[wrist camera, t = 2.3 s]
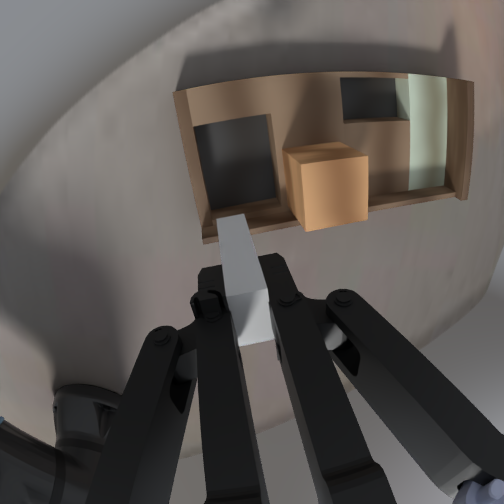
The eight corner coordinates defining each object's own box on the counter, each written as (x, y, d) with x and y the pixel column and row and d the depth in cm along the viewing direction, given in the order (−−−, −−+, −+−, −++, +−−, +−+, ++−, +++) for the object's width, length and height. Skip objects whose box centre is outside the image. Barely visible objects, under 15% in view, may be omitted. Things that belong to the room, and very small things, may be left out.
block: (287, 205, 27) (306, 231, 22) (281, 148, 24) (300, 164, 20) (341, 196, 27) (367, 219, 23) (339, 141, 24) (368, 155, 20)
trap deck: (202, 221, 29) (204, 250, 24) (175, 91, 22) (168, 92, 18) (436, 180, 30) (467, 199, 26) (437, 76, 24) (473, 81, 19)
